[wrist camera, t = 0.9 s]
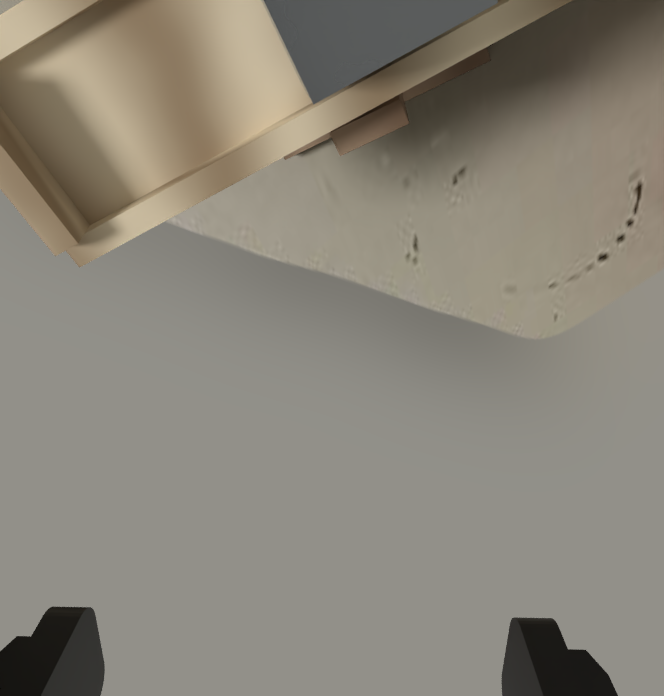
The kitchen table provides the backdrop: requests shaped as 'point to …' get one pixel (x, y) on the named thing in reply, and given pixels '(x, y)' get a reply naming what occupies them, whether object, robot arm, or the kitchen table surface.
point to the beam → (172, 106)
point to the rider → (358, 35)
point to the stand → (391, 110)
